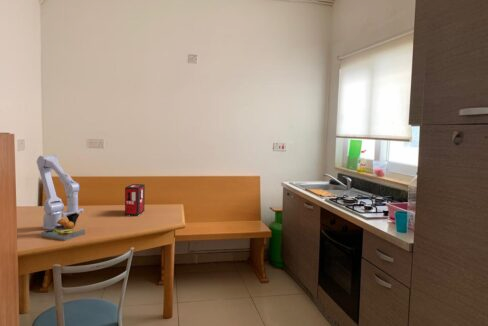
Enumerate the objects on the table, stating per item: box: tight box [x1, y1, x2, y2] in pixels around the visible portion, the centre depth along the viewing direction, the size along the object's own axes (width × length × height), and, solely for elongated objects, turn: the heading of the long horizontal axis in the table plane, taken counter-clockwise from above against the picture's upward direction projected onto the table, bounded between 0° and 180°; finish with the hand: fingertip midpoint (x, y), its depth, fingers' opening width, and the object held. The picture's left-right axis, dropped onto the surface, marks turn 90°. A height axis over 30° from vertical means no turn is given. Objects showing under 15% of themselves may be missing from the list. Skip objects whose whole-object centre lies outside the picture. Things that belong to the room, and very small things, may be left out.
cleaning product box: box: [124, 183, 146, 217], centre depth 269 cm, size 16×9×20 cm, turn 179°
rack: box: [40, 229, 86, 241], centre depth 212 cm, size 17×14×3 cm
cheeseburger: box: [53, 218, 75, 235], centre depth 212 cm, size 10×11×10 cm
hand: (72, 226), depth 218 cm, fingers closed
